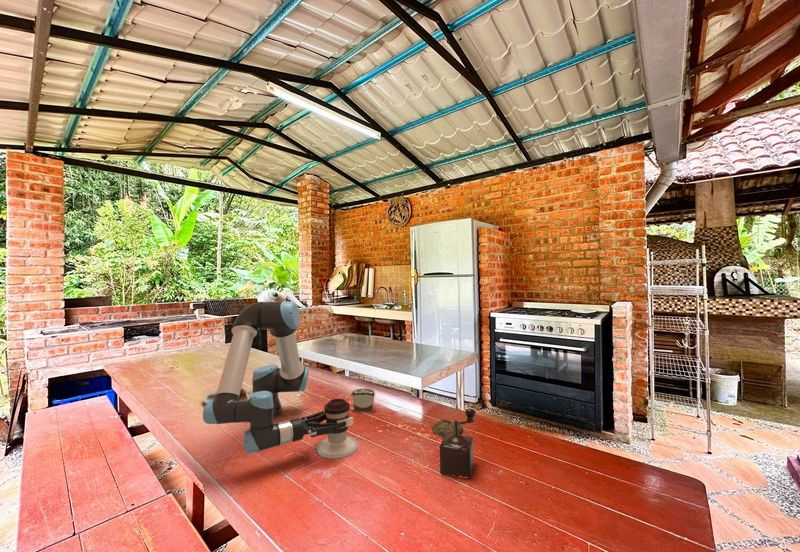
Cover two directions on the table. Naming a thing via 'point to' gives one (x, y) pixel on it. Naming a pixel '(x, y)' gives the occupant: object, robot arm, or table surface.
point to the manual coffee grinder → (458, 451)
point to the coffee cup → (337, 418)
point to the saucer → (337, 448)
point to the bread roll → (445, 427)
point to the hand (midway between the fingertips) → (348, 416)
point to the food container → (363, 400)
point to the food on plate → (242, 395)
